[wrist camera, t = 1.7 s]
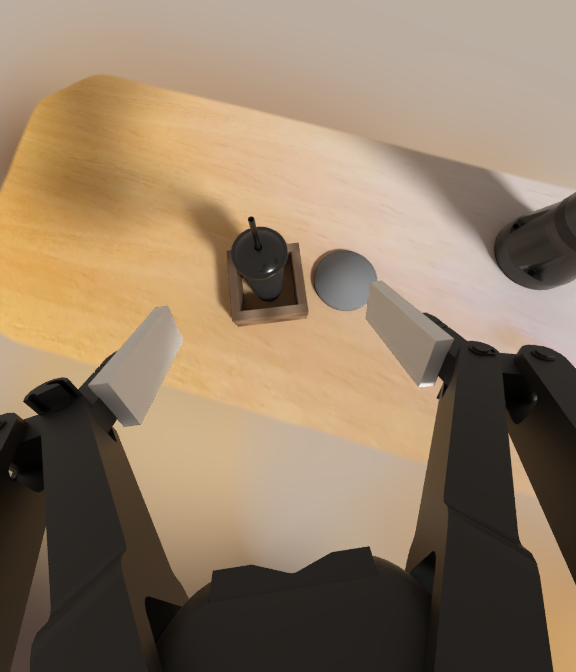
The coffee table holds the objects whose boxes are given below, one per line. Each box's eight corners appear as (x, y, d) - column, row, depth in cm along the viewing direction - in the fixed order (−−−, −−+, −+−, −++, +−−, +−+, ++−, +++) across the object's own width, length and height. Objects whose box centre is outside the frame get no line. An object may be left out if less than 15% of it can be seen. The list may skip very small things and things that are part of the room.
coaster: (369, 249, 44) (370, 247, 43) (380, 306, 42) (382, 305, 41) (310, 256, 44) (310, 254, 43) (318, 314, 42) (319, 313, 41)
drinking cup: (259, 315, 42) (232, 264, 22) (242, 282, 43) (203, 205, 24) (295, 298, 43) (300, 233, 23) (277, 265, 44) (268, 177, 24)
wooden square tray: (297, 255, 44) (298, 242, 40) (306, 318, 42) (308, 311, 37) (232, 263, 44) (226, 250, 39) (238, 326, 42) (232, 320, 37)
